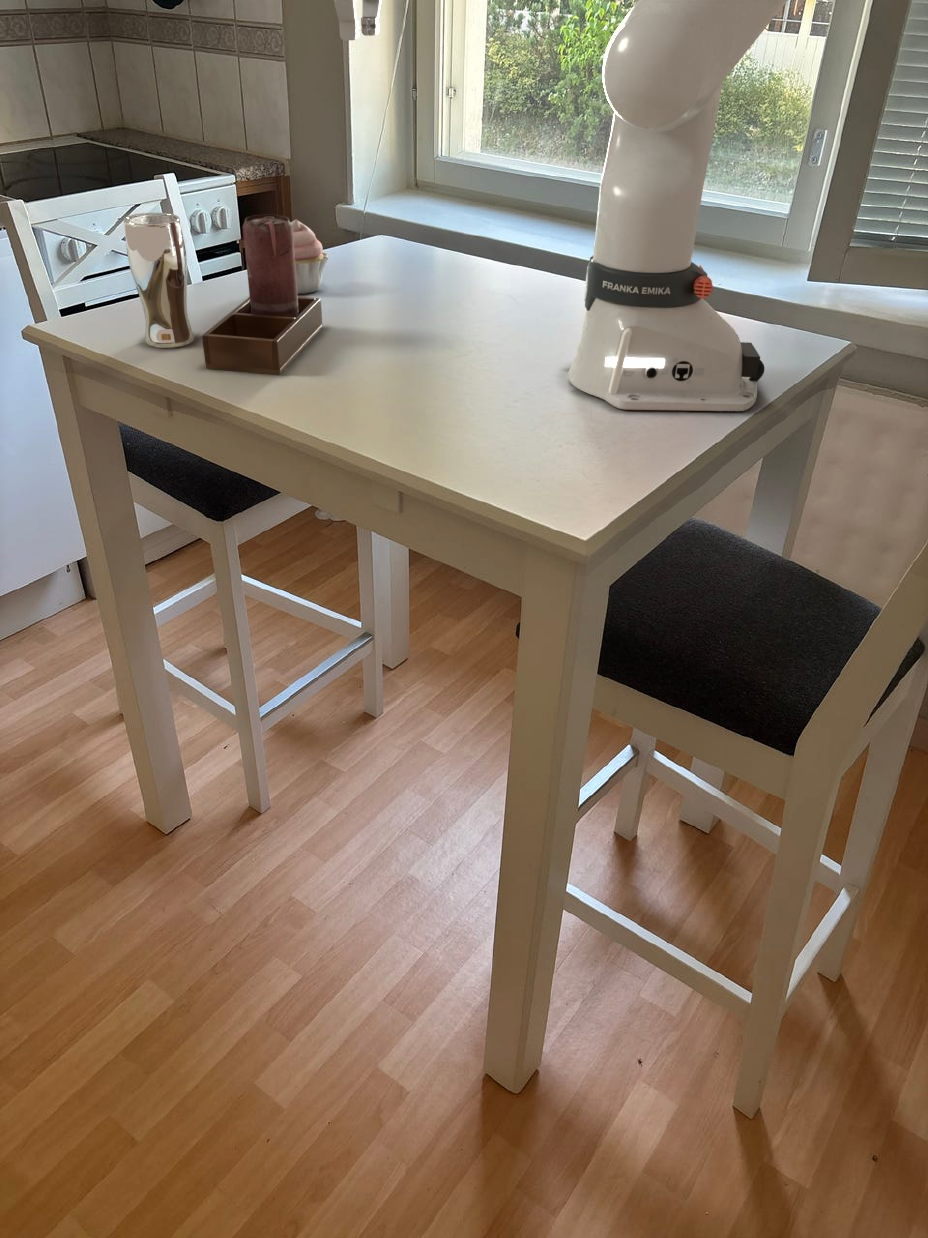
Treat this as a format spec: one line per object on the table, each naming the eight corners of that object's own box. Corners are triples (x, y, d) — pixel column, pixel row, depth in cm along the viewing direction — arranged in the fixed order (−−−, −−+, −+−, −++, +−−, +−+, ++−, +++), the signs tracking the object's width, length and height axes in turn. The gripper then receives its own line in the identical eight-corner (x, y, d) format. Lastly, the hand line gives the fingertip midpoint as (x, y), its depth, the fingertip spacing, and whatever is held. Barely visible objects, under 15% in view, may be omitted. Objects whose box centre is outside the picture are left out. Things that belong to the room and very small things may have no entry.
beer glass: (183, 351, 120) (165, 226, 112) (132, 346, 121) (110, 222, 113) (206, 334, 126) (190, 214, 117) (157, 330, 127) (138, 210, 118)
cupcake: (298, 301, 139) (293, 229, 133) (255, 288, 144) (249, 218, 138) (343, 288, 145) (340, 219, 140) (301, 276, 150) (296, 209, 144)
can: (263, 341, 122) (252, 225, 114) (246, 326, 126) (234, 215, 119) (307, 334, 125) (300, 221, 117) (289, 320, 129) (280, 210, 121)
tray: (322, 328, 129) (320, 298, 127) (280, 374, 115) (277, 341, 112) (256, 323, 130) (253, 292, 128) (205, 368, 116) (201, 335, 113)
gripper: (357, -124, 92) (365, 43, 100) (402, -109, 108) (405, 33, 116) (294, -124, 93) (306, 42, 100) (349, -109, 109) (355, 32, 117)
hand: (360, 37), depth 108 cm, fingers open, 8 cm apart
